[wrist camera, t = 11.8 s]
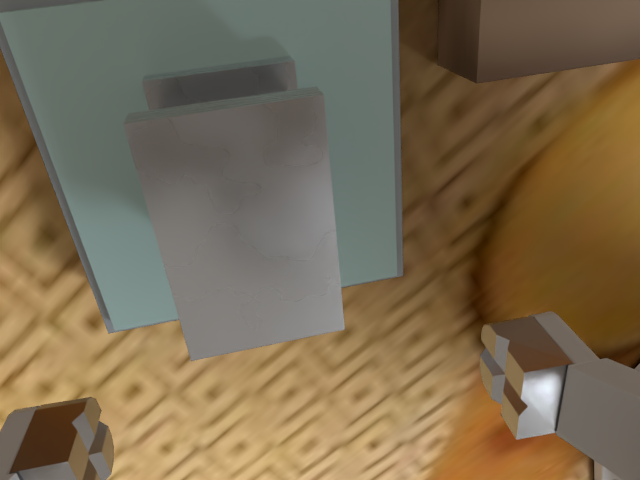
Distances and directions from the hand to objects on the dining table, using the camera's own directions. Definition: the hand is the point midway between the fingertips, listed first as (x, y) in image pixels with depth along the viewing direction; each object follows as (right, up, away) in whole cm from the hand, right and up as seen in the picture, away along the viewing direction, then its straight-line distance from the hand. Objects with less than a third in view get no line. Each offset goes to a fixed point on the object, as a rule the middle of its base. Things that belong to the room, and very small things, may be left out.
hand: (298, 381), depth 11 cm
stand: (-4, +8, +13) cm, 16 cm away
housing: (-3, +6, +10) cm, 12 cm away
